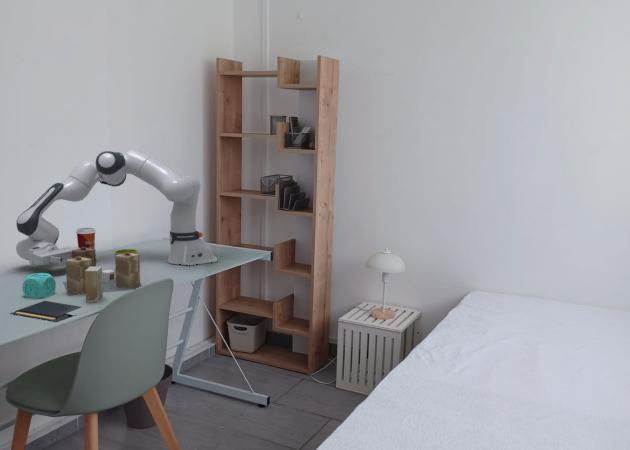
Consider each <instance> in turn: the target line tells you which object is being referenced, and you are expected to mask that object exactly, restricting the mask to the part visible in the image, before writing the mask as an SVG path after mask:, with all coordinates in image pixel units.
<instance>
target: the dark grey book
mask: <svg viewBox="0 0 630 450" xmlns="http://www.w3.org/2000/svg"><path fill="white" fill-rule="evenodd" d="M81 308H82V306H78V305H72V304H68V303H61V302H60V303H59V302H55V301H49V300H43V301H39V302H37V303H34V304H31V305H27V306H25V307H23V308H19V309H17V310H15V311H13V312H10V313H9V315H12V314H13V316H18V315H19V316H18V317H24V318H30V319H35V318H36V319H35V320H40V319H41V321H46V320H47V321H48V322H51V323H52V322H53V323H59V322H61V321H65V320H67V319H69V318H71V317H74V316H76V314H69V313H70V312H73V311H75V310H78V309H81Z"/></svg>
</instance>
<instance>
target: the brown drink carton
mask: <svg viewBox="0 0 630 450" xmlns="http://www.w3.org/2000/svg"><path fill="white" fill-rule="evenodd" d="M96 255H97V254H96V249H90V248H86V247H81V248H80V249H75V250H72V258H76V257H77V256H81V257H83V258H89V259H92V267H97V261H96V257H97V256H96ZM72 258H71V259H72Z"/></svg>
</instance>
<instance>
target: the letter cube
mask: <svg viewBox="0 0 630 450" xmlns="http://www.w3.org/2000/svg"><path fill="white" fill-rule="evenodd" d="M114 281H116V270H112V269H105V270H102V282H105V283H110V282H114Z"/></svg>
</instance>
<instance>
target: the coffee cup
mask: <svg viewBox="0 0 630 450" xmlns="http://www.w3.org/2000/svg"><path fill="white" fill-rule="evenodd" d="M96 232H97V231H96V230H95V228H94V227H80V228H77V229H76V232H75V233H76V239H77V248H81V247H86V248H90V249H95V248H96V245H95V244H96V243H95V241H96ZM95 250H96V249H95Z"/></svg>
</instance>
